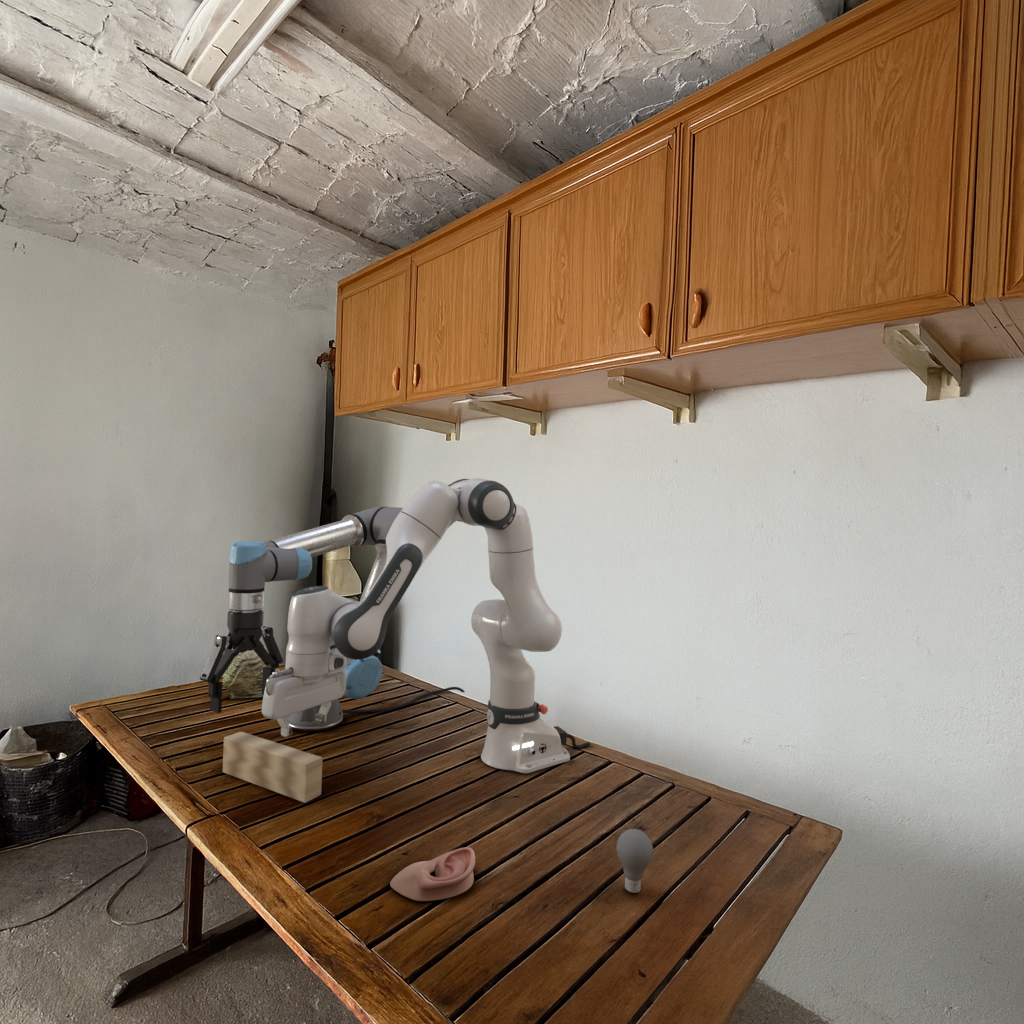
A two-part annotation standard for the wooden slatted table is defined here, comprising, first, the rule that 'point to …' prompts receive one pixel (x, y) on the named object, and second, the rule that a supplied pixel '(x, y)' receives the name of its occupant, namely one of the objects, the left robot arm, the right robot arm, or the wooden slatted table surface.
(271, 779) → the ash beam
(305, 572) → the left robot arm
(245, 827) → the wooden slatted table surface
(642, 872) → the light bulb
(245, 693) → the fossil
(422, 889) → the anatomical model
